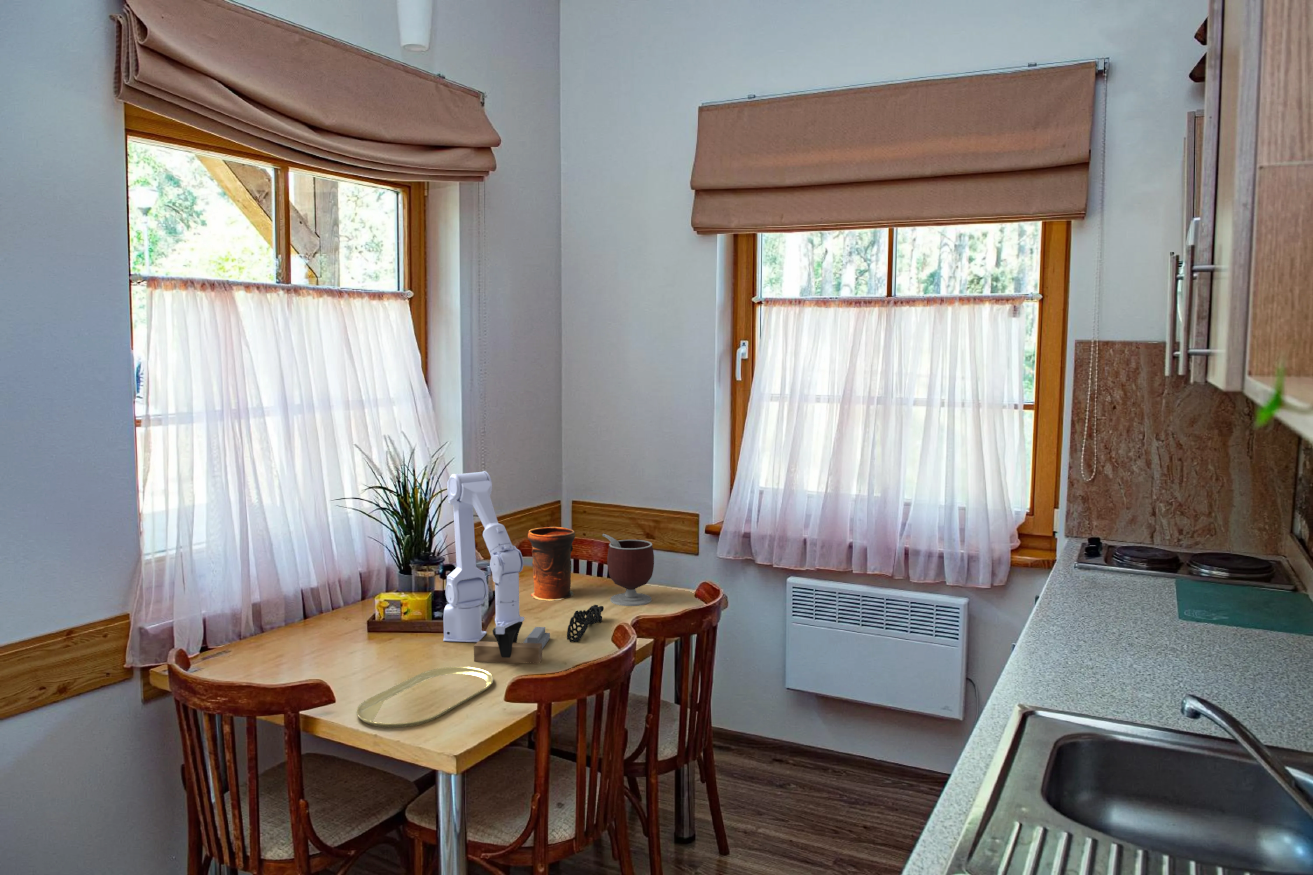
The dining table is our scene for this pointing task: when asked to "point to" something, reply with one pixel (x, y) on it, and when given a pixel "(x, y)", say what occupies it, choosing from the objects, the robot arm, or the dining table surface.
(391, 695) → the serving platter
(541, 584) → the vessel
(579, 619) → the decorative element
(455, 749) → the dining table surface
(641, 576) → the mate gourd
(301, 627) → the dining table surface
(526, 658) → the beam
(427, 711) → the dining table surface
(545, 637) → the fulcrum
